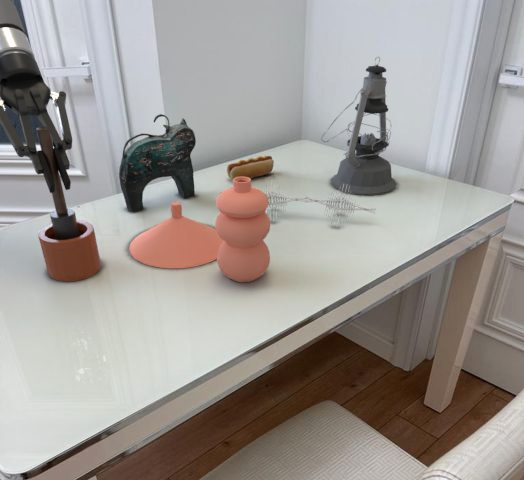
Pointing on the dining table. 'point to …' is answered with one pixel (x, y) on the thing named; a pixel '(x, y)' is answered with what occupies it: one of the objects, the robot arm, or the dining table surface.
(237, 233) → the ceramic vessels
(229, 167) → the food
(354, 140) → the lantern
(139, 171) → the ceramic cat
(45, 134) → the pestle
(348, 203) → the test tube brush
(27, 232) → the dining table surface
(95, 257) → the jar
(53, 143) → the robot arm
